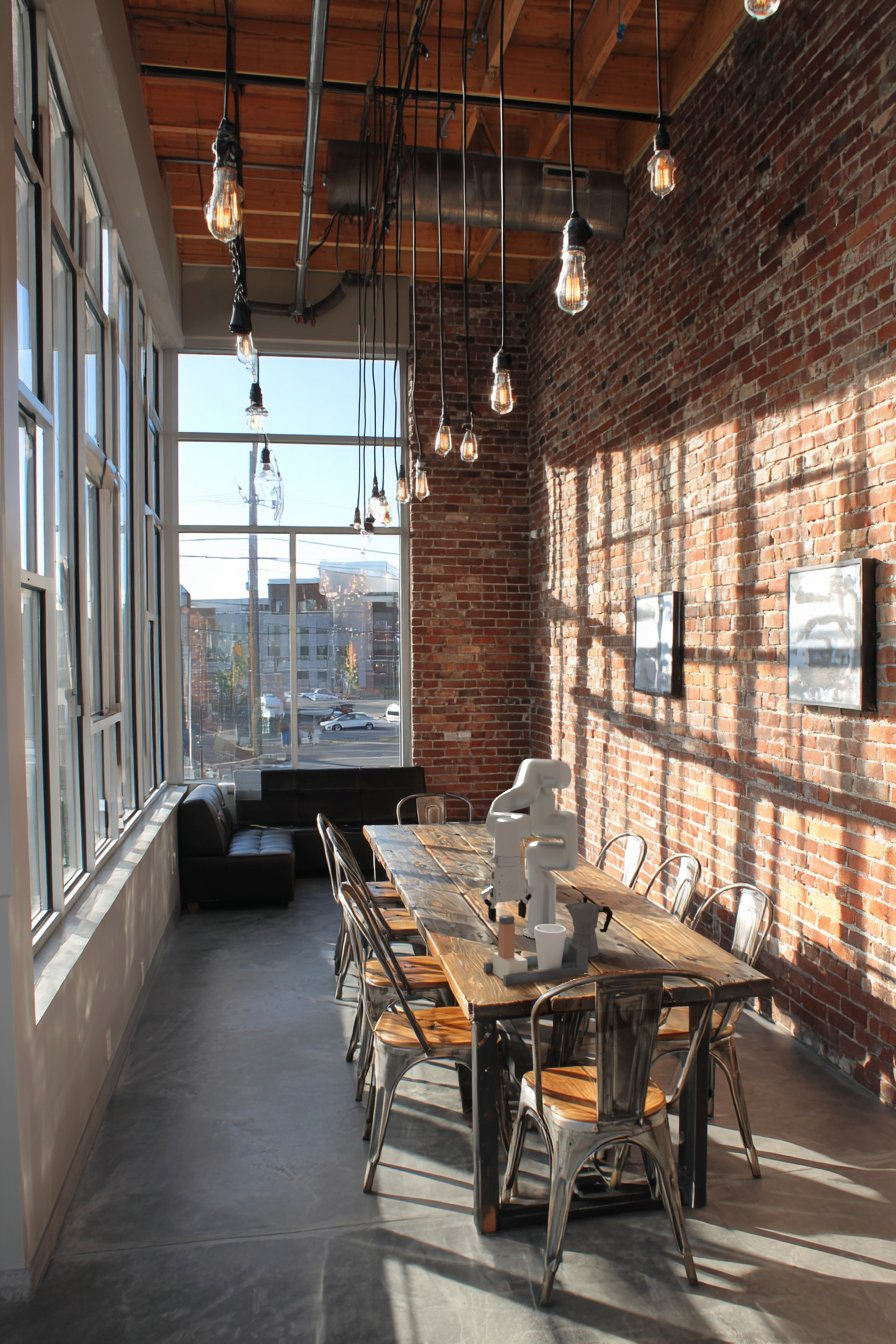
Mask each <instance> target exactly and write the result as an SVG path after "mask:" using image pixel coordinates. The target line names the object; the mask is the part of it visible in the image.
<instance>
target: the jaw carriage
mask: <svg viewBox="0 0 896 1344" xmlns="http://www.w3.org/2000/svg"><path fill="white" fill-rule="evenodd" d="M497 933H498V939H497V942H498V944H497V949H498V951H496V952H492V961H493V973H492V974H493V975H495V976H497V977H498V978H499V979H502V980H503V976H504V975H508V974H515V973H522V972H528V968H527V959H525V958H523V957H524V956H521V955H520V954H518V953H516V952H515V947H516V946H515V945H516V944H515V941H516V940H515V939H516V938H515V933H516V923H515V916H514V915H510V914H502V915H499V917H498V932H497Z"/></svg>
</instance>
